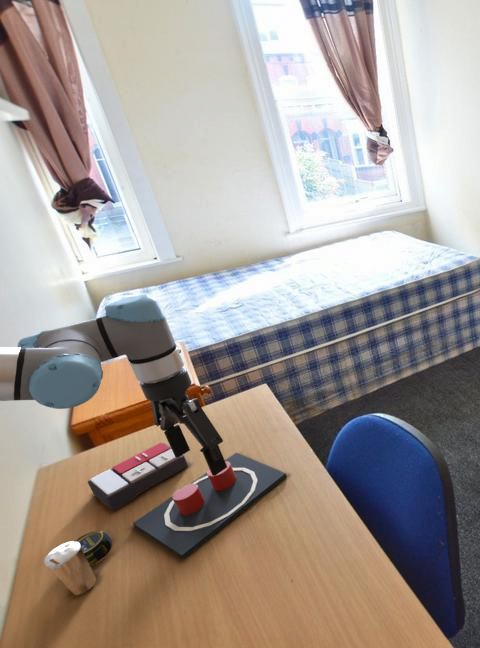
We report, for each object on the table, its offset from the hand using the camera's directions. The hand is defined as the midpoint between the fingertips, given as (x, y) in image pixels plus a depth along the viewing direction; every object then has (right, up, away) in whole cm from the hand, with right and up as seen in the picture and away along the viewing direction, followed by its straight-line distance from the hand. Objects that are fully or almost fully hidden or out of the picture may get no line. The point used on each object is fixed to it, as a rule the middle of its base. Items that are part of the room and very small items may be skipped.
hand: (200, 462), depth 97 cm
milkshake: (-10, -17, -16) cm, 25 cm away
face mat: (+3, -8, +1) cm, 9 cm away
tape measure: (-13, -15, -11) cm, 23 cm away
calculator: (-19, -7, +9) cm, 22 cm away
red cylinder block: (0, -8, -2) cm, 9 cm away
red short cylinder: (+3, -6, +4) cm, 7 cm away
